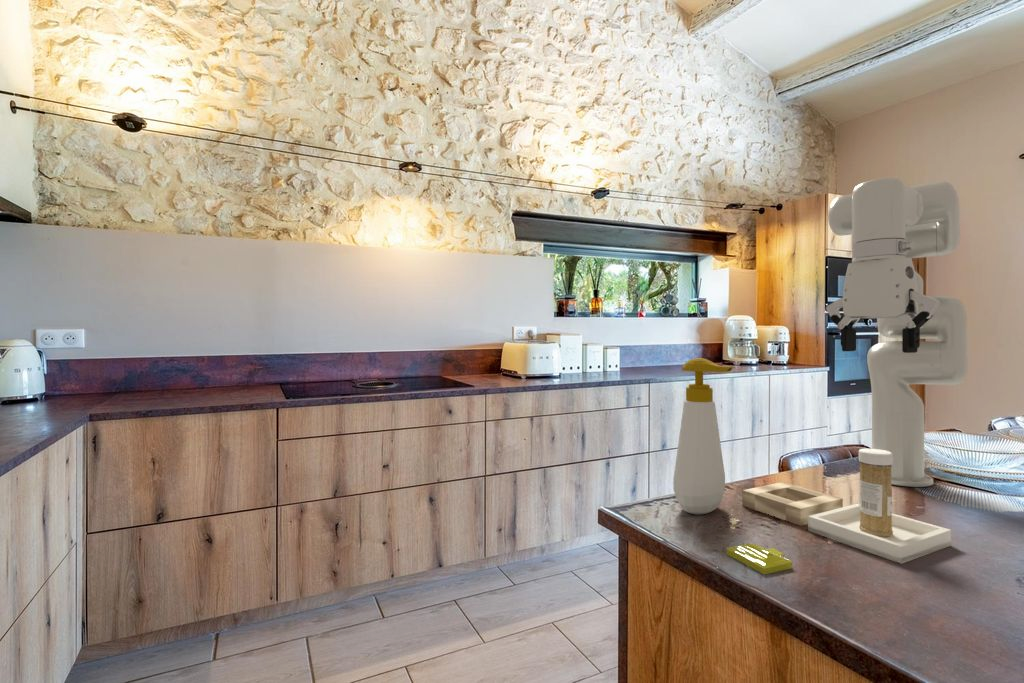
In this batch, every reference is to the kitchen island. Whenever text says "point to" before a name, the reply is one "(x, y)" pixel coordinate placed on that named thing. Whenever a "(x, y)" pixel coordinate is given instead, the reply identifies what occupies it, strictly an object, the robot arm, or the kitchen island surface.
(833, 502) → the socket holder
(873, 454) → the sprinkles bottle
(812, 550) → the kitchen island surface
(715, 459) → the soap bottle
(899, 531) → the tray
